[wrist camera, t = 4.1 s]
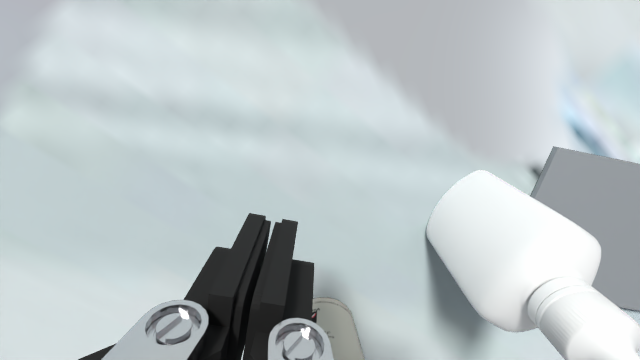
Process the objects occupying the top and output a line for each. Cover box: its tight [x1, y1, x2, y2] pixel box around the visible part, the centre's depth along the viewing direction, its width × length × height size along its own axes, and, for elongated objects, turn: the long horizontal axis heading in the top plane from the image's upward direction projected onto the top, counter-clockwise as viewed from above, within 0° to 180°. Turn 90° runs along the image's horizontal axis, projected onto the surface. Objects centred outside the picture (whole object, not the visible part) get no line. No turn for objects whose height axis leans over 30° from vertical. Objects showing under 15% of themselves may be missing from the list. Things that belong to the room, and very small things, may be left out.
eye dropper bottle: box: [426, 170, 640, 360], centre depth 14 cm, size 4×6×12 cm
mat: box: [531, 146, 640, 311], centre depth 20 cm, size 12×10×1 cm
